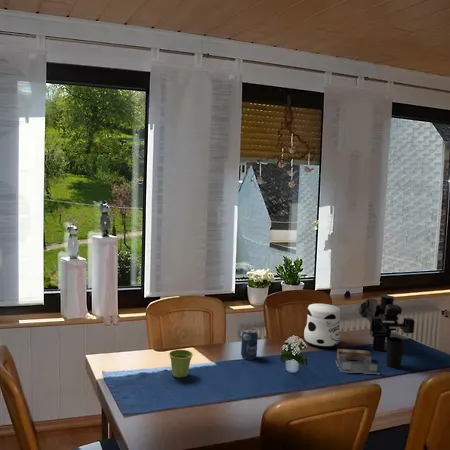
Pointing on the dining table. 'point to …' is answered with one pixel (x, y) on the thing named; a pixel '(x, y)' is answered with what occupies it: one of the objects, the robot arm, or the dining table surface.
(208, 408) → the dining table surface
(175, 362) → the plant pot
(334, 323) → the milk container
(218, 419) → the dining table surface
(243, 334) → the soda can
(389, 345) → the cup
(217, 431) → the dining table surface
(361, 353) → the rail
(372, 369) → the brackets
